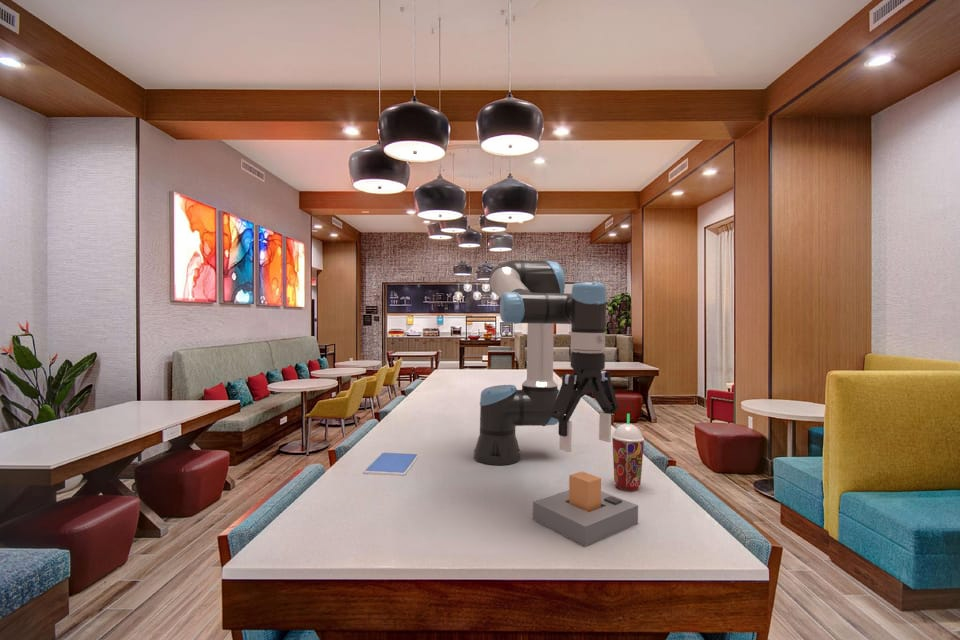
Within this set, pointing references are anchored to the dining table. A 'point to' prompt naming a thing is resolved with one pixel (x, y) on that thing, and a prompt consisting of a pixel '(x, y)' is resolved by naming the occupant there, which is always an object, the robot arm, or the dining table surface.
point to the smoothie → (627, 456)
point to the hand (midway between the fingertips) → (585, 445)
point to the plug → (585, 491)
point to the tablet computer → (391, 464)
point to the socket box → (585, 517)
